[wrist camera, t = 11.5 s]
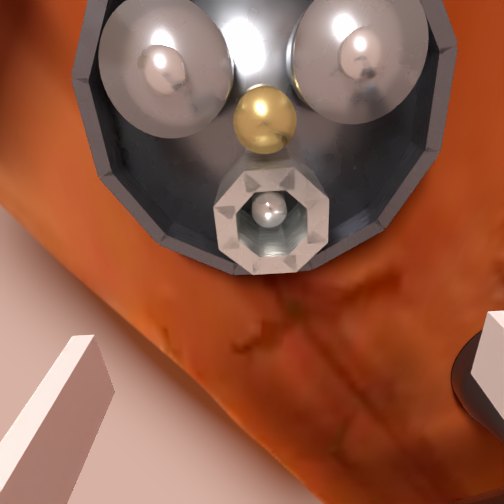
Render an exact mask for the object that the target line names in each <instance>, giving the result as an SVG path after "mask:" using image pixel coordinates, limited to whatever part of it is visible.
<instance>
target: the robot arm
mask: <svg viewBox="0 0 504 504" xmlns="http://www.w3.org/2000/svg"><path fill="white" fill-rule="evenodd" d="M451 381H452V387H453V390H454V392H455V394H456V395H457V397H458V399H459V400H460V402H461V404H462V405H463V407H464V408H465V410H466V411H467V412H468V413H469V415H470V416H471V417H472V418H473V419H475V420H476V421H477V422H479V423H480V424H481V425H483V426H484V427H485V428H486V429H487V430H488V431H489V432H490V433H491V434H493V435H494V436H495V437H496V438H497V439H498V440H499V441H500V442H501V443H502V444H504V311H490V312H488V313H487V316H486V320H485V324H484V327H483V330H482V331H481V332H480V333H478V334H477V335H476V336H475V337H474V338H473V339H471V340H470V341H469V342H468V344H467V345H466V346H465V347H464V348H463V349H462V351H461V352H460V354H459V355H458V357H457V359H456V361H455V363H454V366H453V369H452V376H451ZM114 393H115V391H114V388H113V385H112V383H111V380H110V377H109V374H108V371H107V369H106V366H105V363H104V360H103V357H102V355H101V352H100V349H99V347H98V343H97V341H96V338H95V335H82V336H72V338H71V339H70V340H69V342H68V343H67V345H66V346H65V348H64V349H63V351H62V352H61V354H60V355H59V357H58V358H57V360H56V361H55V363H54V364H53V366H52V367H51V369H50V370H49V372H48V373H47V374H46V376H45V377H44V379H43V381H42V382H41V383H40V385H39V386H38V388H37V389H36V391H35V392H34V394H33V395H32V397H31V398H30V400H29V401H28V402H27V404H26V406H25V407H24V408H23V410H22V411H21V413H20V414H19V416H18V417H17V419H16V420H15V422H14V423H13V425H12V426H11V428H10V429H9V431H8V432H7V434H6V435H5V437H4V438H3V439H2V441H1V442H0V504H67V502H68V500H69V497H70V495H71V493H72V491H73V488H74V486H75V484H76V481H77V479H78V476H79V474H80V472H81V470H82V467H83V465H84V463H85V460H86V458H87V456H88V453H89V451H90V449H91V446H92V444H93V441H94V439H95V437H96V434H97V432H98V430H99V427H100V425H101V423H102V421H103V418H104V416H105V414H106V411H107V409H108V406H109V404H110V402H111V400H112V397H113V395H114ZM449 504H504V487H503V488H500V489H496V490H493V491H490V492H486V493H483V494H479V495H476V496H473V497H469V498H466V499H462V500H459V501H456V502H452V503H449Z"/></svg>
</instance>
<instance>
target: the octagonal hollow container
mask: <svg viewBox="0 0 504 504" xmlns="http://www.w3.org/2000/svg"><path fill="white" fill-rule="evenodd" d="M280 190H286V191H287V192H288V193H290V194H291V195H292V196H293V197H294V198H295V199H296V200H297V204H296V206H295V207H294V208H293V209H292V210H291V211H290V212H289V213H288V214H287V215H286V217H285V219H284V220H283V222H282V223H281V224H279V225H277V226H275V227H263V226H261V225H259V224H258V223H257V222H256V221H255V220H254V218H253V217H252V216H251V215H249V214H248V213H247V212H246V211H244V210H243V209H242V208H241V207H242V206H243V205H244V204H245V203H246V202H247V201H248V199H249V198H250V197H251V196H252V195H253V194H254V193H255V192H266V191H280ZM213 209H214V217H215V224H216V232H217V240H218V247H219V250H220V251H221V252H223V253H224V254H225V255H227V256H228V257H229V258H231V259H232V260H234V261H235V262H236V263H238V264H239V265H240V266H242V267H243V268H244V269H246V270H247V271H248V272H250V273H251V274H252V275H259V274H275V273H291V272H297V271H298V270H299V269H300V268H301V267H302V266H303V265H305V264H306V263H307V262H308V261H309V260H310V259H311V258H312V257H313V256H314V255H315V254H316V253H317V252H318V251H319V250H321V249H322V248H323V247H324V246H325V245H326V244H327V243H328V225H329V198H328V196H327V194H326V193H325V191H324V189H323V188H322V186H321V184H320V182H319V181H318V179H317V177H316V175H315V174H314V172H313V171H311V170H310V169H309V168H308V167H307V166H306V165H305V164H304V163H303V162H302V161H301V160H299V159H298V158H297V157H296V156H295V155H294V154H293V153H292V152H291V151H290V150H289V149H288V148H286V147H283V148H282V149H281V150H279V151H277V152H274V153H271V154H258V153H255V152H252V151H250V150H245V152H244V153H243V154H242V155H241V156H240V158H239V159H238V160H237V161H236V162H235V164H234V165H233V166H232V167H231V168H230V169H229V171H228V172H227V173H226V174H225V175H224V177H223V178H222V179H221V182H220V185H219V189H218V192H217V196H216V199H215V203H214V206H213Z"/></svg>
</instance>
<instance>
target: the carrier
mask: <svg viewBox="0 0 504 504" xmlns="http://www.w3.org/2000/svg"><path fill="white" fill-rule="evenodd" d="M456 44H458V43H457V40H456V37H455V35H454V32H453V29H452V26H451V23H450V21H449V18H448V15H447V12H446V10H445V7H444V4H443V1H442V0H88V2H87V7H86V11H85V16H84V20H83V25H82V29H81V34H80V38H79V43H78V47H77V52H76V56H75V61H74V65H73V70H72V74H71V77H73V78H75V79H71V81H72V84H73V88H74V91H75V95H76V99H77V102H78V106H79V109H80V113H81V117H82V120H83V124H84V127H85V131H86V135H87V138H88V142H89V145H90V149H91V153H92V156H93V160H94V163H95V167H96V171H97V174H98V177H101V176H102V177H101V178H100V180H101V181H102V182H103V183H104V185H105V186H106V187H107V188H108V189H109V190H110V191H111V192H112V193H113V195H114V196H115V197H116V198H117V199H118V200H119V201H120V202H121V204H122V205H123V206H124V207H125V208H126V209H127V210H128V211H129V212H130V214H131V215H132V216H133V217H134V218H135V219H136V220H137V221H138V223H139V224H140V225H141V226H142V227H143V228H144V229H145V230H146V231H147V233H148V234H149V235H150V236H151V237H152V238H153V239H154V240H155V242H156V243H157V244H158V243H160V246H163V247H165V248H168V249H170V250H173V251H175V252H177V253H180V254H182V255H185V256H187V257H190V258H192V259H195V260H197V261H199V262H202V263H204V264H207V265H209V266H212V267H214V268H217V269H219V270H221V271H224V272H226V273H229V274H231V275H233V273H234V275H247V274H251V273H250V272H248V271H247V270H246V269H244V268H243V267H242V266H240V265H239V264H238V263H236V262H235V261H234V260H232V259H231V258H229V257H228V256H227V255H225V254H224V253H223V252H221V251H220V250H219V247H218V240H217V232H216V224H215V217H214V209H213V206H214V203H215V199H216V196H217V192H218V189H219V185H220V182H221V179H222V178H223V177H224V175H225V174H226V173H227V172H228V171H229V169H230V168H231V167H232V166H233V165H234V164H235V162H236V161H237V160H238V159H239V158H240V156H241V155H242V154H243V153H244V152H245V150H250V151H252V152H255V153H258V154H271V153H274V152H277V151H279V150H281V149H282V148H283V147H286V148H288V149H289V150H290V151H291V152H292V153H293V154H294V155H295V156H296V157H297V158H298V159H299V160H301V161H302V162H303V163H304V164H305V165H306V166H307V167H308V168H309V169H310V170H311V171H313V172H314V174H315V175H316V177H317V179H318V181H319V182H320V184H321V186H322V188H323V189H324V191H325V193H326V194H327V196H328V198H329V225H328V243H327V244H326V245H325V246H324V247H323V248H322V249H321V250H319V251H318V252H317V253H316V254H315V255H314V256H313V257H312V258H311V259H310V260H309V261H308V262H307V263H306V264H305V265H303V266H302V267H301V268H300V269H299V270H298V271H310V270H311V268H312V269H313V270H314V269H315V268H317V267H319V266H321V265H323V264H324V263H326V262H328V261H330V260H332V259H333V258H335V257H337V256H339V255H341V254H342V253H344V252H346V251H348V250H349V249H351V248H353V247H355V246H357V245H358V244H360V243H362V242H364V241H366V240H367V239H369V238H371V237H373V236H375V235H376V234H378V233H380V232H382V231H384V228H387V226H388V225H389V224H390V222H391V221H392V219H393V218H394V217H395V215H396V214H397V212H398V211H399V210H400V208H401V207H402V205H403V204H404V203H405V201H406V200H407V198H408V197H409V196H410V194H411V193H412V191H413V190H414V189H415V187H416V186H417V184H418V183H419V182H420V180H421V179H422V177H423V176H424V175H425V173H426V172H427V170H428V169H429V168H430V166H431V165H432V163H433V162H434V161H435V159H436V158H437V156H438V155H439V154H440V153H438V152H436V151H441V146H442V140H443V134H444V128H445V122H446V116H447V110H448V104H449V97H450V91H451V85H452V79H453V73H454V67H455V61H456V55H457V49H458V46H457V47H453V46H455V45H456ZM296 204H297V200H296V199H295V198H294V197H293V196H292V195H291V194H290V193H288V192H287V191H286V190H280V191H266V192H255V193H254V194H253V195H252V196H251V197H250V198H249V199H248V201H247V202H246V203H245V204H244V205H243V206H242V207H241V208H242V209H243V210H244V211H246V212H247V213H248V214H249V215H251V216H252V217H253V218H254V220H255V221H256V222H257V223H258V224H259V225H261V226H263V227H275V226H277V225H279V224H281V223H282V222H283V220H284V219H285V217H286V215H287V214H288V213H289V212H290V211H291V210H292V209H293V208H294V207H295V206H296ZM383 227H384V228H383Z"/></svg>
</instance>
